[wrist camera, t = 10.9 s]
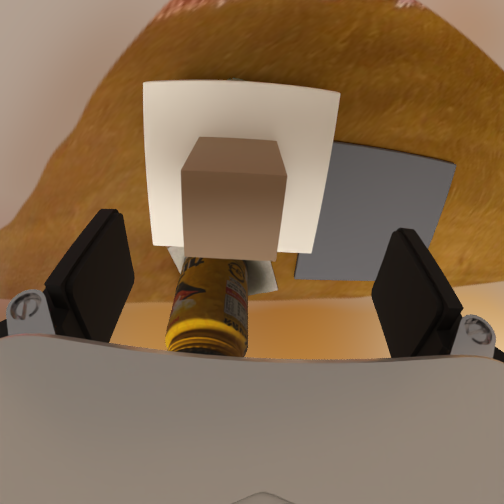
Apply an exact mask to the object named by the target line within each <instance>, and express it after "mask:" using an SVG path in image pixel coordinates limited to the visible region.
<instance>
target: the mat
mask: <svg viewBox="0 0 504 504" xmlns="http://www.w3.org/2000/svg"><path fill="white" fill-rule="evenodd" d="M455 168H456V164H454V163H451V162H447V161H443V160H438V159H434V158H429V157H425V156H420V155H415V154H410V153H405V152H399V151H394V150H388V149H382V148H376V147H370V146H364V145H357V144H350V143H342V142H334V141H333V145H332V151H331V156H330V162H329V168H328V173H327V179H326V184H325V189H324V195H323V200H322V205H321V210H320V215H319V220H318V225H317V229H316V234H315V239H314V244H313V248H312V253H298V257H297V262H296V268H295V273H294V278H295V279H312V280H359V281H375V280H376V277H377V275H378V272H379V269H380V267H381V264H382V261H383V258H384V255H385V252H386V249H387V247H388V244H389V241H390V238H391V235H392V233H393V232H394V231H396V230H397V229H398V228H408V229H414V230H415V231H416V232H417V234H418V235H419V237H420V238H421V240H422V241H423V243H424V244H425V246H426V247H427V249H428V247H429V245H430V242H431V240H432V237H433V234H434V232H435V229H436V226H437V224H438V221H439V218H440V215H441V213H442V210H443V207H444V204H445V201H446V198H447V195H448V192H449V188H450V185H451V182H452V179H453V175H454V172H455Z"/></svg>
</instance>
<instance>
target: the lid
mask: <svg viewBox="0 0 504 504" xmlns="http://www.w3.org/2000/svg"><path fill="white" fill-rule="evenodd" d="M339 100H340V93H338V92H336V91H330V90H324V89H317V88H310V87H302V86H294V85H285V84H275V83H264V82H250V81H231V80H164V81H147V82H144V83H143V113H144V141H145V160H146V175H147V188H148V199H149V210H150V220H151V229H152V238H153V245H158V246H177V247H184V256H185V257H201V258H219V259H239V260H258V261H276V256H277V252H292V253H312V248H313V244H314V239H315V234H316V229H317V225H318V220H319V215H320V210H321V205H322V200H323V195H324V189H325V184H326V179H327V173H328V168H329V162H330V156H331V151H332V145H333V139H334V133H335V126H336V120H337V114H338V107H339Z"/></svg>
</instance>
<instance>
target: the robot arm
mask: <svg viewBox="0 0 504 504" xmlns="http://www.w3.org/2000/svg"><path fill="white" fill-rule="evenodd" d="M133 284H134V271H133V266H132V261H131V256H130V251H129V246H128V241H127V236H126V230H125V224H124V219H123V215H122V214H121V213H119V212H118V210H116V209H101V210H99V212H98V213H97V214H96V215H95V217H94V218H93V219H92V220H91V221H90V223H89V224H88V225H87V226H86V228H85V229H84V230H83V231H82V233H81V234H80V235H79V237H78V238H77V239H76V241H75V242H74V243H73V244H72V246H71V247H70V248H69V250H68V251H67V252H66V254H65V255H64V257H63V258H62V259H61V261H60V262H59V263H58V265H57V266H56V268H55V269H54V270H53V272H52V273H51V275H50V276H49V278H48V279H47V281H46V282H45V286H46V288H45V289H44V291H43V293H42V292H41V291H39V290H35V289H33V290H26V291H23V292H21V293H20V294H18V295H16V296H15V297H14V298H13V299H12V300H11V302H10V303H9V304H8V307H7V310H6V318H7V319H5V320H3V321H1V322H0V504H504V352H502V351H501V350H499V349H498V348H496V347H495V342H496V336H495V333H494V331H493V329H492V327H491V326H490V325H489V323H488V322H486V321H485V320H484V319H482V318H481V317H478V316H476V315H466V316H465V317H462V315H461V314H460V313H461V311H462V310H463V307H462V304H461V303H460V301H459V299H458V297H457V296H456V294H455V292H454V291H453V289H452V287H451V285H450V284H449V282H448V280H447V279H446V277H445V275H444V274H443V272H442V271H441V269H440V267H439V266H438V264H437V263H436V261H435V259H434V258H433V256H432V255H431V253H430V252H429V250H428V249H427V247H426V246H425V244H424V243H423V241H422V240H421V238H420V237H419V235H418V234H417V232H416V231H415V230H414V229H408V228H398V229H397V230H396V231H394V232H393V233H392V235H391V238H390V241H389V244H388V247H387V249H386V252H385V255H384V258H383V261H382V264H381V267H380V269H379V272H378V275H377V277H376V280H375V283H374V285H373V288H372V300H373V303H374V306H375V309H376V311H377V314H378V317H379V320H380V323H381V326H382V329H383V332H384V336H385V339H386V342H387V345H388V348H389V352H390V355H391V358H380V359H349V360H348V359H347V360H303V359H266V358H246V357H230V356H217V355H205V354H193V353H183V352H174V351H164V350H156V349H148V348H141V347H133V346H127V345H120V344H113V343H109V341H110V338H111V336H112V333H113V331H114V329H115V326H116V324H117V321H118V319H119V316H120V314H121V312H122V309H123V307H124V305H125V302H126V300H127V298H128V295H129V293H130V291H131V288H132V286H133Z"/></svg>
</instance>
